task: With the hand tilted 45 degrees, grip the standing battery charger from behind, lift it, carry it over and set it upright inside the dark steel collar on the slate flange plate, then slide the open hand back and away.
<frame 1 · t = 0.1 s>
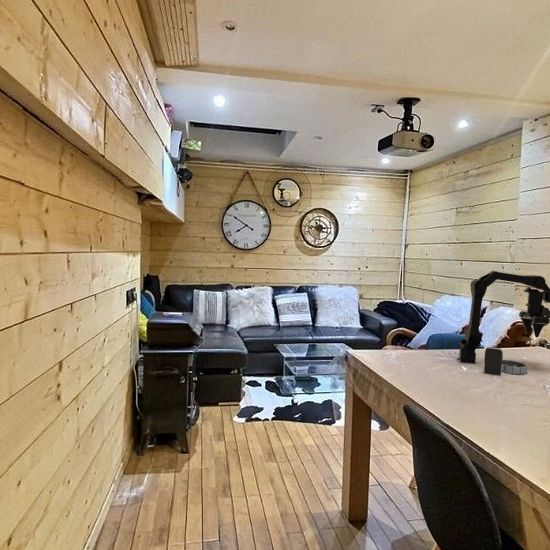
hand: (532, 335, 199), 15 cm above the table, tool pointing down, fingers open, 9 cm apart
collar: (510, 370, 191), on the table
battery charger: (492, 373, 186), on the table
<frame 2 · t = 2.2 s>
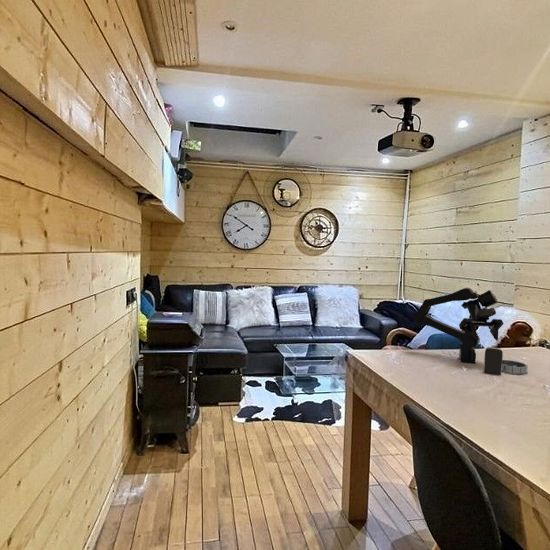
hand: (487, 340, 190), 14 cm above the table, tool tilted 45°, fingers open, 9 cm apart
nothing on the table moved.
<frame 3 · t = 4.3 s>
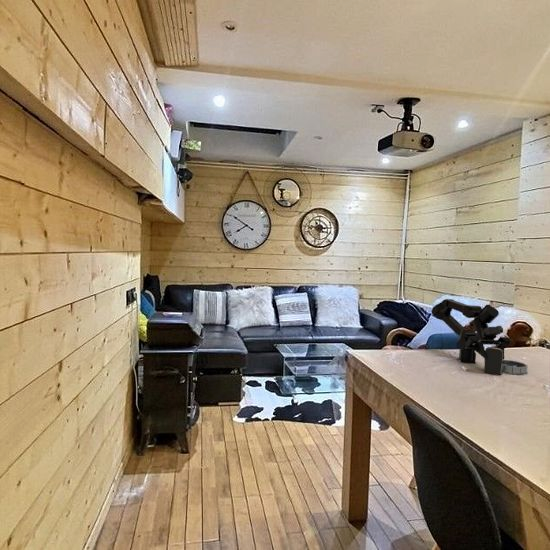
hand: (495, 359, 184), 7 cm above the table, tool tilted 45°, fingers closed on battery charger, 7 cm apart
battery charger: (492, 373, 186), on the table, touching gripper
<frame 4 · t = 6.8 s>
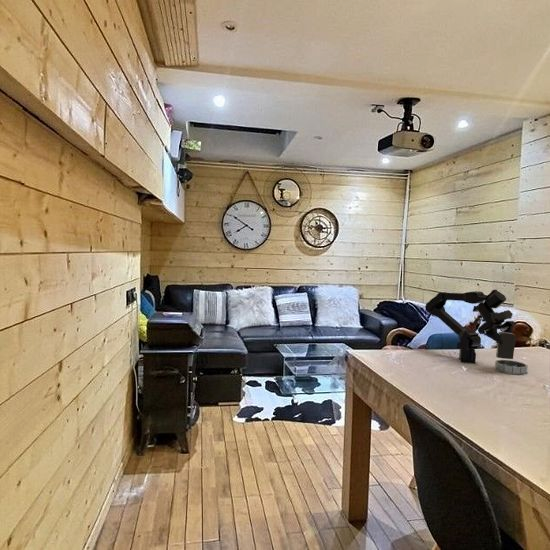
hand: (508, 343, 185), 13 cm above the table, tool tilted 45°, fingers closed on battery charger, 7 cm apart
battery charger: (503, 358, 187), point 6 cm above the table, touching gripper
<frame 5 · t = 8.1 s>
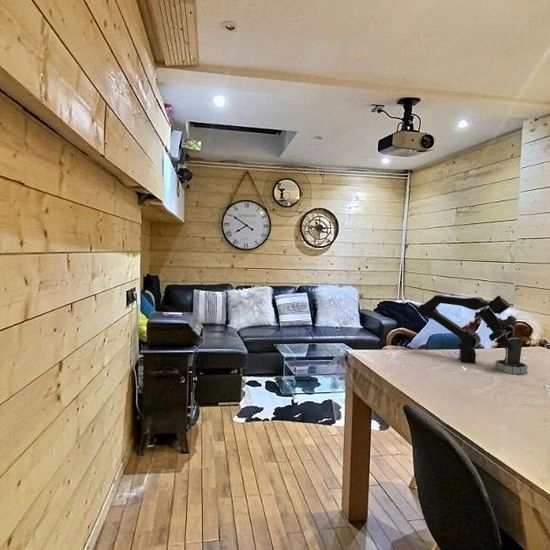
hand: (515, 348, 189), 10 cm above the table, tool tilted 45°, fingers closed on battery charger, 7 cm apart
battery charger: (510, 363, 191), point 3 cm above the table, touching gripper
when the fingers open (8 cm above the table, at t = 9.1 s): battery charger stays where it is, resting on collar.
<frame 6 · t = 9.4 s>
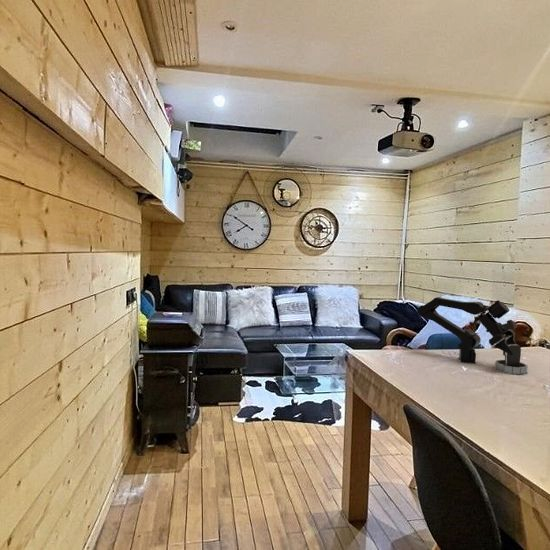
hand: (515, 352, 189), 8 cm above the table, tool tilted 45°, fingers open, 9 cm apart
battery charger: (510, 369, 191), resting on collar
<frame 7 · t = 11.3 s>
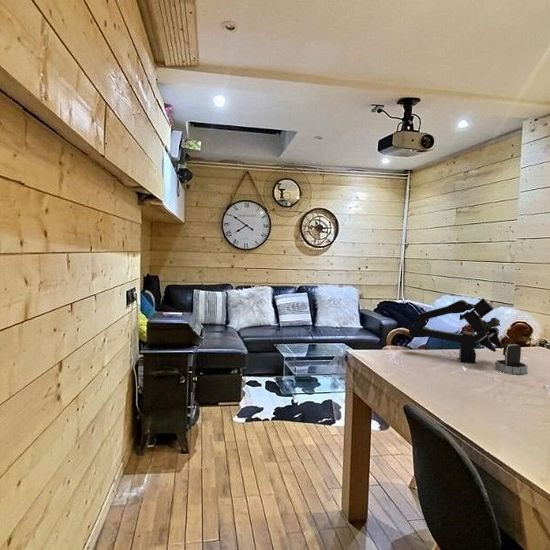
hand: (498, 349, 194), 8 cm above the table, tool tilted 45°, fingers open, 9 cm apart
nothing on the table moved.
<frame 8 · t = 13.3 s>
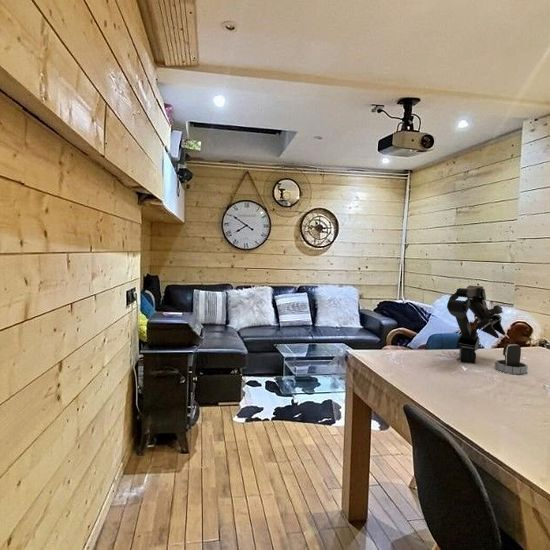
hand: (501, 336, 200), 14 cm above the table, tool tilted 45°, fingers open, 9 cm apart
nothing on the table moved.
at the end: battery charger 0.3 cm off-centre on the collar, point 0.4 cm above the collar's base; battery charger tilted 0°; the gripper is holding nothing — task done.
